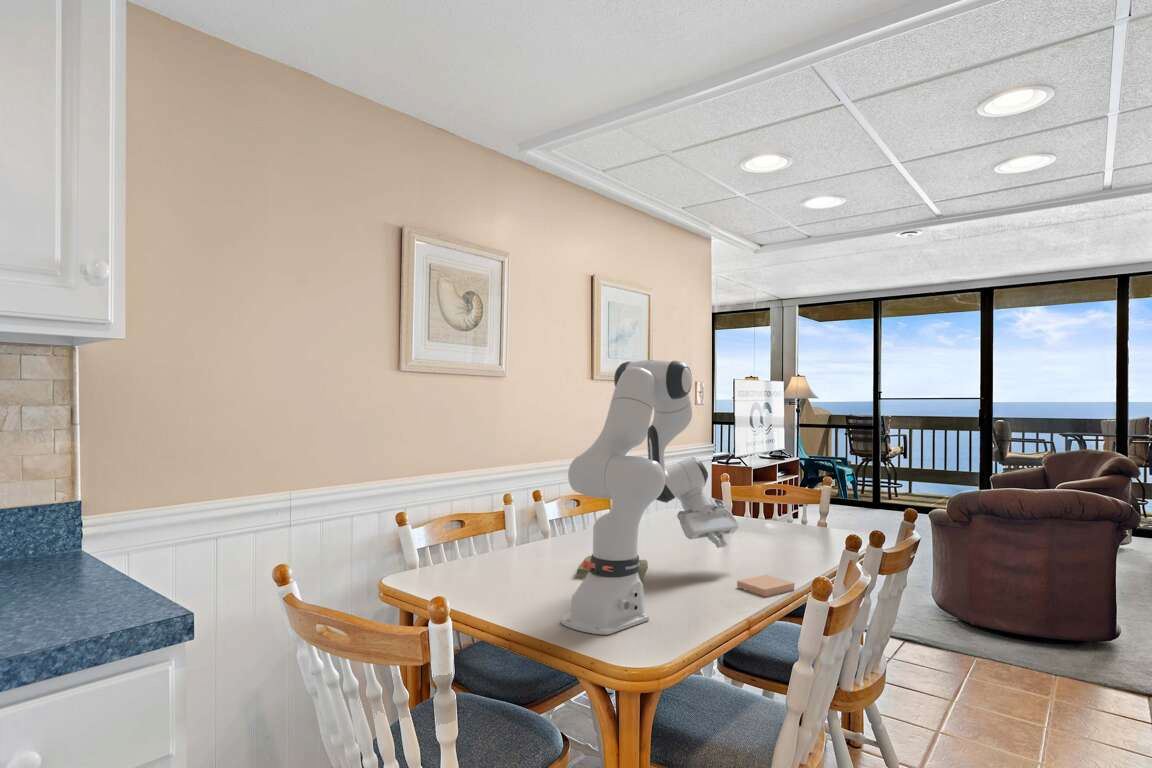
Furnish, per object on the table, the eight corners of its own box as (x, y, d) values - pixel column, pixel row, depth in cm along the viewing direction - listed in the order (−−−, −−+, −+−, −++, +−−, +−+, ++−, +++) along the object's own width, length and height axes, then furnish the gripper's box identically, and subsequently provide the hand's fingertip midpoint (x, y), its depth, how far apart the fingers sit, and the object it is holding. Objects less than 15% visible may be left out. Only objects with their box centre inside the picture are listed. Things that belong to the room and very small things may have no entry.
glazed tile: (737, 589, 179) (765, 598, 170) (737, 580, 179) (765, 589, 171) (765, 582, 185) (794, 591, 177) (765, 574, 185) (794, 582, 177)
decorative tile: (585, 565, 204) (585, 554, 204) (648, 569, 200) (648, 557, 200) (573, 581, 186) (573, 569, 186) (641, 586, 182) (641, 573, 182)
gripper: (679, 505, 192) (702, 544, 184) (727, 500, 204) (751, 536, 195) (670, 518, 196) (691, 556, 187) (717, 512, 207) (740, 548, 199)
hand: (722, 546), depth 191 cm, fingers closed
